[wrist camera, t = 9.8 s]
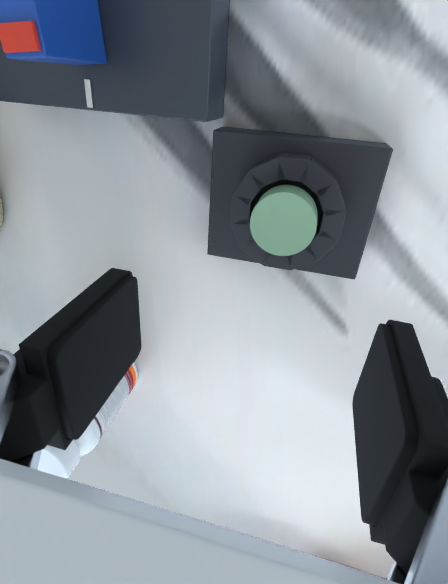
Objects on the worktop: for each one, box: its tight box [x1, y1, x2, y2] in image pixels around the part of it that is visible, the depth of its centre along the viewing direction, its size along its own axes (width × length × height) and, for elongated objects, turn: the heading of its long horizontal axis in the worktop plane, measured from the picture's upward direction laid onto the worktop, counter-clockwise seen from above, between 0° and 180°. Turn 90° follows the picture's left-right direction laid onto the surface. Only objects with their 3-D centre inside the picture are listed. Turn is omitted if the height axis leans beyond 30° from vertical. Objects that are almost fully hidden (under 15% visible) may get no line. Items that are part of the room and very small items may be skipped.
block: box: [208, 127, 393, 279], centre depth 22 cm, size 10×8×4 cm
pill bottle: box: [37, 363, 138, 479], centre depth 31 cm, size 6×6×11 cm
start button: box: [250, 185, 318, 256], centre depth 20 cm, size 4×4×2 cm
